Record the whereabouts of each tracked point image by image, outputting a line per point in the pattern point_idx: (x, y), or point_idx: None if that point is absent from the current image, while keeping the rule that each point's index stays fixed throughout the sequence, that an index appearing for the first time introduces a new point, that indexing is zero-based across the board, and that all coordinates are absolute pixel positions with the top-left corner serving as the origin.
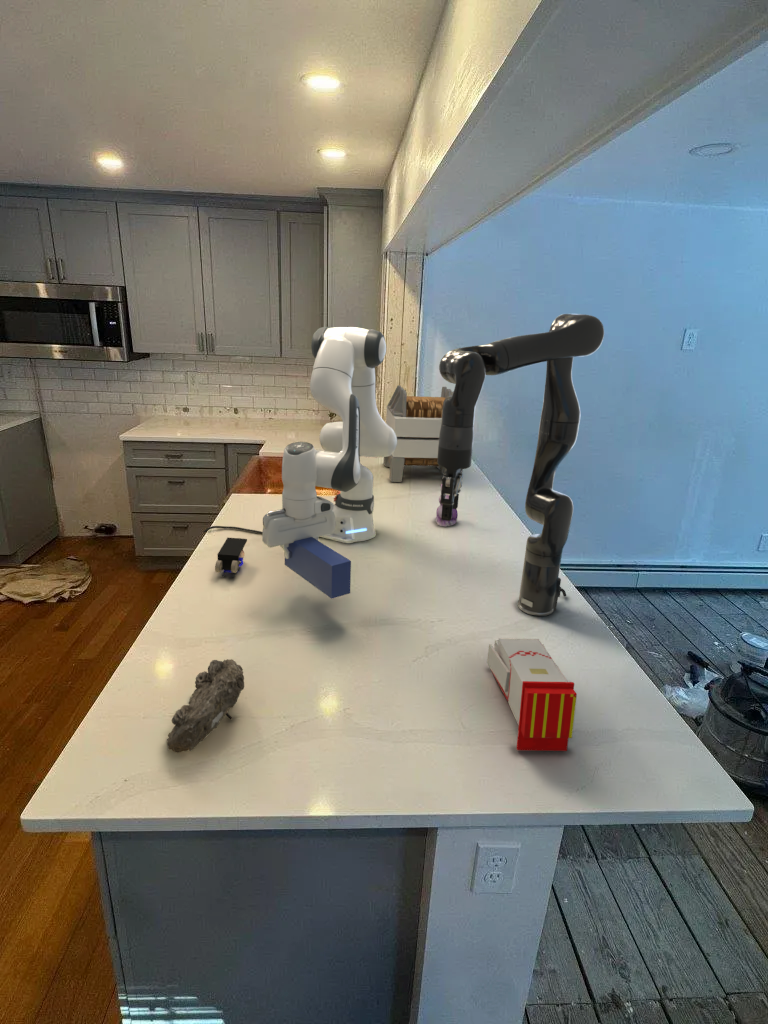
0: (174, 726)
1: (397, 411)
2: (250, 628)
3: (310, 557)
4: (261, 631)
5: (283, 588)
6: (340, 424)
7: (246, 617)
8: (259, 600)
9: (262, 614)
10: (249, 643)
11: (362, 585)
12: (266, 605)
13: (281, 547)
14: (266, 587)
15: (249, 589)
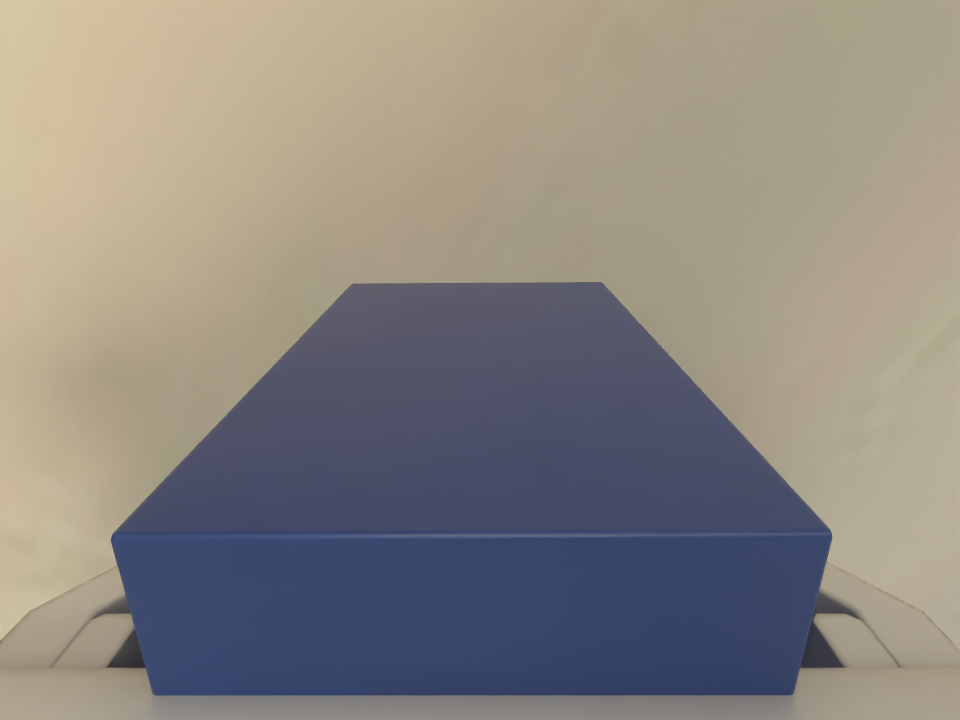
0: None
1: None
2: (46, 509)
3: None
4: (98, 561)
5: (420, 160)
6: None
7: (46, 396)
8: (183, 238)
9: (151, 416)
10: (16, 616)
11: (917, 435)
12: (208, 329)
13: (89, 588)
14: (303, 58)
15: (156, 7)
